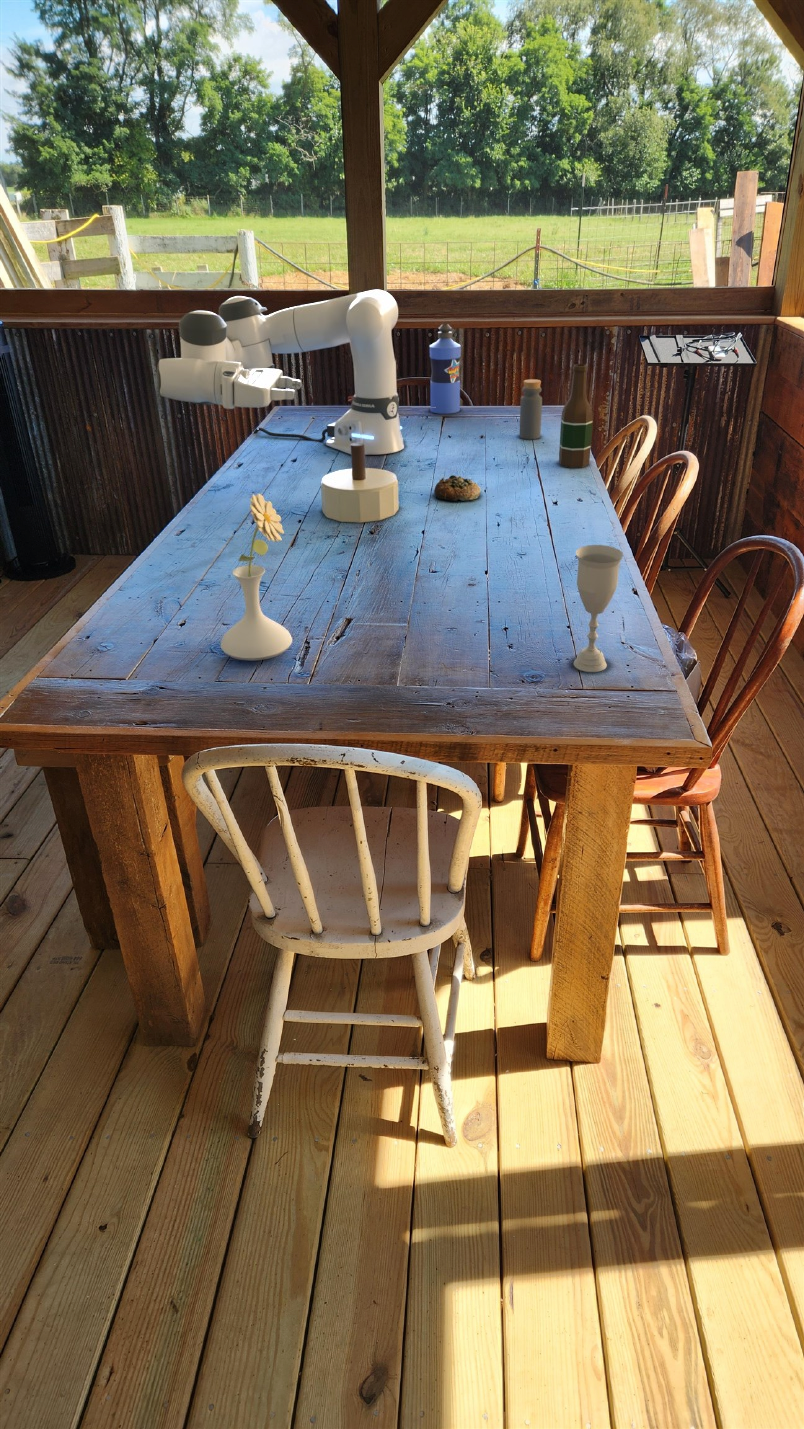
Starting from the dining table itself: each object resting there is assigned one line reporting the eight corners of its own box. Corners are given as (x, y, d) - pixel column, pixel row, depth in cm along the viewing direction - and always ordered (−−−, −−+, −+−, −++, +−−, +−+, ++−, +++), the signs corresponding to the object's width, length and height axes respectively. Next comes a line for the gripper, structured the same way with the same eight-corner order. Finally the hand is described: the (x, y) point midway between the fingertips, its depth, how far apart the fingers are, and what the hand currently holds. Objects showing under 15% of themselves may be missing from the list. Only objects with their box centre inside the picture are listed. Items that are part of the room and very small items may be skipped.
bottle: (540, 434, 269) (542, 378, 262) (540, 439, 264) (543, 382, 257) (519, 434, 270) (521, 378, 262) (519, 439, 265) (521, 382, 257)
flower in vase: (262, 673, 148) (245, 516, 135) (206, 657, 153) (185, 504, 140) (313, 641, 157) (301, 491, 144) (259, 627, 162) (243, 481, 150)
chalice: (562, 655, 151) (570, 546, 142) (605, 652, 151) (615, 543, 142) (574, 676, 144) (582, 564, 135) (618, 674, 145) (629, 561, 136)
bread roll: (423, 495, 222) (426, 473, 220) (454, 490, 230) (456, 469, 228) (460, 506, 216) (463, 484, 214) (490, 501, 224) (493, 479, 221)
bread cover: (308, 511, 215) (303, 445, 208) (361, 494, 225) (358, 430, 218) (360, 527, 205) (356, 458, 198) (412, 508, 215) (411, 442, 208)
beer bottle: (591, 460, 245) (599, 362, 233) (586, 469, 238) (594, 368, 226) (561, 458, 247) (567, 361, 235) (555, 467, 241) (561, 367, 229)
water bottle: (466, 409, 297) (467, 323, 285) (446, 415, 292) (446, 327, 279) (443, 405, 303) (443, 320, 290) (423, 410, 297) (422, 324, 285)
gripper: (242, 388, 213) (304, 393, 213) (222, 410, 196) (290, 416, 195) (241, 358, 210) (304, 363, 210) (222, 378, 192) (290, 384, 192)
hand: (297, 389), depth 202 cm, fingers open, 8 cm apart
